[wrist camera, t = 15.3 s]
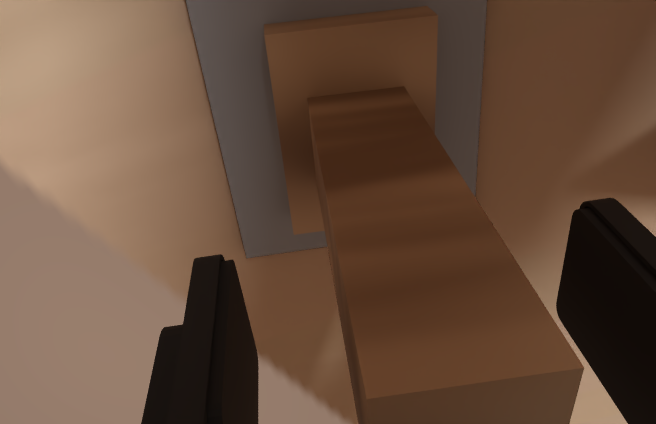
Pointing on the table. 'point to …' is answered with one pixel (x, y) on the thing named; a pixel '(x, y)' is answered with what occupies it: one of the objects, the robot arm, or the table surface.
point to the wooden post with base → (408, 232)
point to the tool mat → (259, 109)
